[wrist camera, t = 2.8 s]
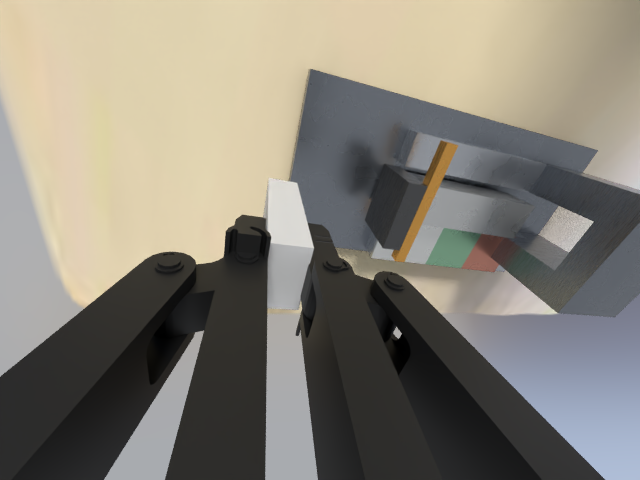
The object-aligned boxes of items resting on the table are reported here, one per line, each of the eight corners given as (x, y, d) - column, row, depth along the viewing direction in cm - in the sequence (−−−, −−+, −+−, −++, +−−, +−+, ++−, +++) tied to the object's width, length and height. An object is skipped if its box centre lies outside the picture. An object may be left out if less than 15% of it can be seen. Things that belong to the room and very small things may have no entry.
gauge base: (308, 69, 18) (340, 62, 10) (586, 148, 24) (753, 185, 16) (279, 234, 24) (282, 319, 16) (506, 263, 31) (596, 334, 22)
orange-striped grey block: (384, 123, 19) (426, 140, 14) (527, 159, 22) (605, 184, 17) (349, 232, 23) (371, 276, 18) (473, 248, 27) (522, 291, 21)
